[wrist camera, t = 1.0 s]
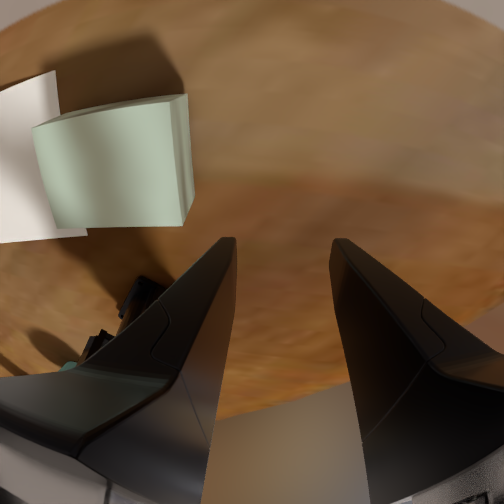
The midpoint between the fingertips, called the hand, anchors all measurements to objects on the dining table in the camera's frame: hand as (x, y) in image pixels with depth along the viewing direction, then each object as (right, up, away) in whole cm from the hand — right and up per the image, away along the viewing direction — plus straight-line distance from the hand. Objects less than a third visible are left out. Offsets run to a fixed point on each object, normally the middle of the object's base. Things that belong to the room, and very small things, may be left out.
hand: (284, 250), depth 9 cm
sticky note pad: (-9, +7, +10) cm, 15 cm away
